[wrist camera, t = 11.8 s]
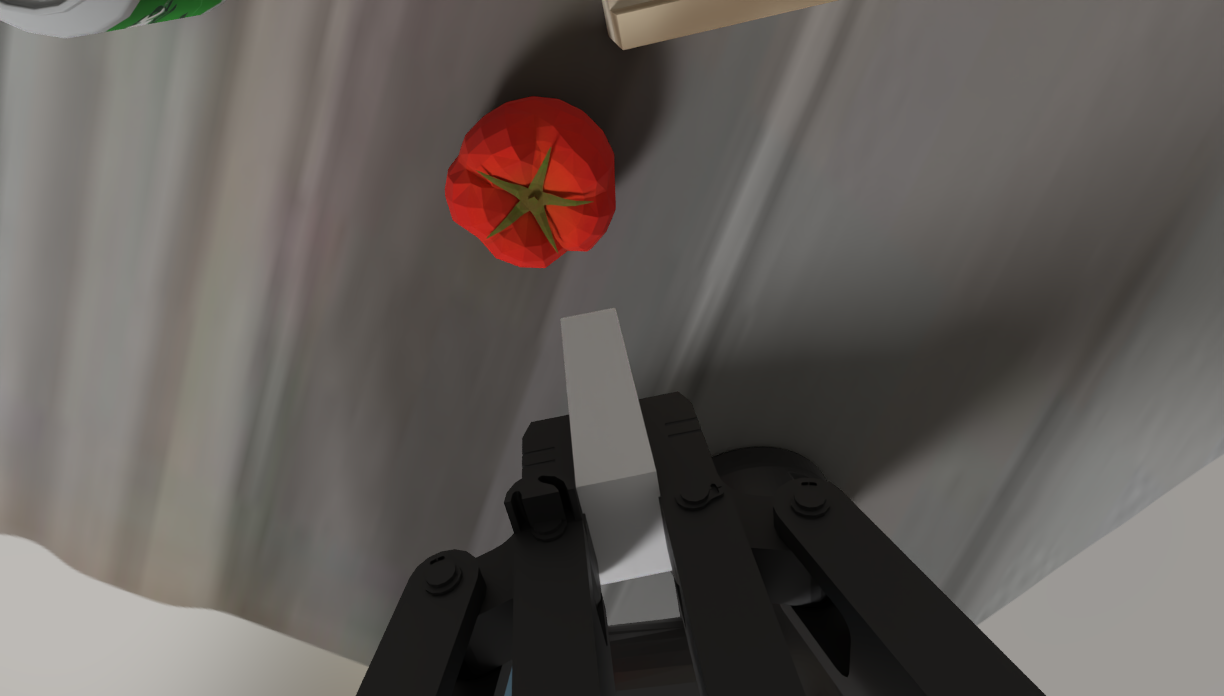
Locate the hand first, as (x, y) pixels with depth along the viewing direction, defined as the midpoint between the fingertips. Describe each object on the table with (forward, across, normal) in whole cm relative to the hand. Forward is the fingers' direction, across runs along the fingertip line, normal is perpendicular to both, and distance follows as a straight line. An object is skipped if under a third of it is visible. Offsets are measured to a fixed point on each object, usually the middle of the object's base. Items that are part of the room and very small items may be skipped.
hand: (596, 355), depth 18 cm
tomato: (+25, -2, -1) cm, 25 cm away
